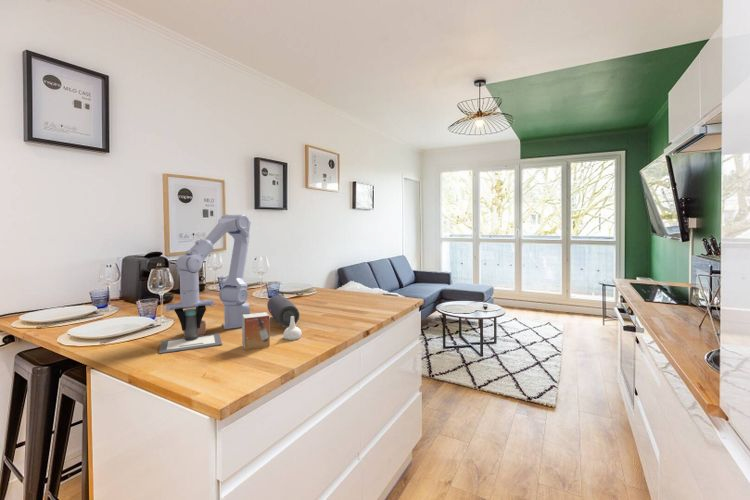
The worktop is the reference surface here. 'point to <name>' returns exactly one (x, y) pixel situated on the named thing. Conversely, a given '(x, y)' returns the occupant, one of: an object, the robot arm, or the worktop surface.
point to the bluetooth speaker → (282, 310)
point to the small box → (255, 330)
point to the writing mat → (189, 343)
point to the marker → (190, 324)
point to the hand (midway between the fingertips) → (191, 328)
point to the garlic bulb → (292, 331)
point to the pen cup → (202, 328)
